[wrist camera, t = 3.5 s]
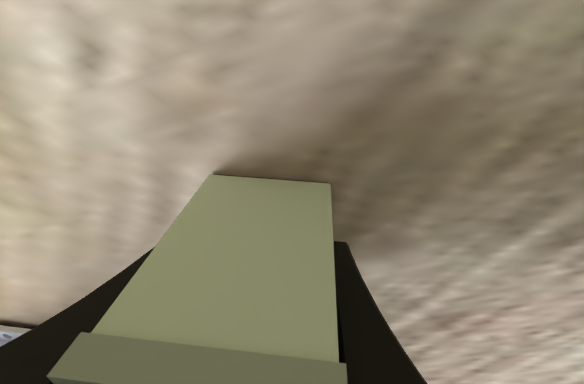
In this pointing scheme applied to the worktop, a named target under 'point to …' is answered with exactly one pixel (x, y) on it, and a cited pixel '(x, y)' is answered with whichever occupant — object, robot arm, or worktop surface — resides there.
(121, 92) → the worktop surface
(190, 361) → the tea tin
